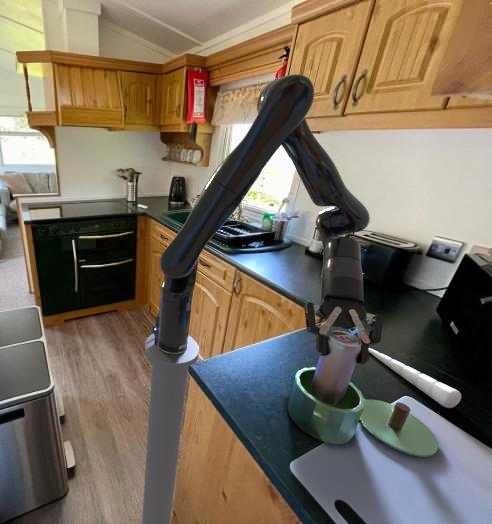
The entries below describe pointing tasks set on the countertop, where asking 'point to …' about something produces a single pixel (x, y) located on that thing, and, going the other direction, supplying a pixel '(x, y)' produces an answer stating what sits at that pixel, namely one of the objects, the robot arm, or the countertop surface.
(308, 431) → the pot
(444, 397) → the unicorn horn
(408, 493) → the countertop surface
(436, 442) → the pot lid
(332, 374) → the beverage can
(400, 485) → the countertop surface
